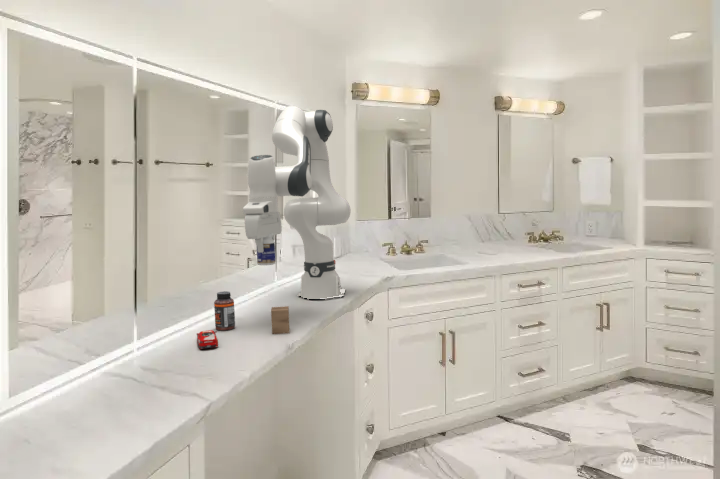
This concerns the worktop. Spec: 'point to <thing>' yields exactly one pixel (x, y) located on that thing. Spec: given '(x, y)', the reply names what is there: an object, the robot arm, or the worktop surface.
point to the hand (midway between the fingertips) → (265, 250)
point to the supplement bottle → (224, 311)
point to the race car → (207, 339)
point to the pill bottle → (267, 251)
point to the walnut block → (280, 320)
